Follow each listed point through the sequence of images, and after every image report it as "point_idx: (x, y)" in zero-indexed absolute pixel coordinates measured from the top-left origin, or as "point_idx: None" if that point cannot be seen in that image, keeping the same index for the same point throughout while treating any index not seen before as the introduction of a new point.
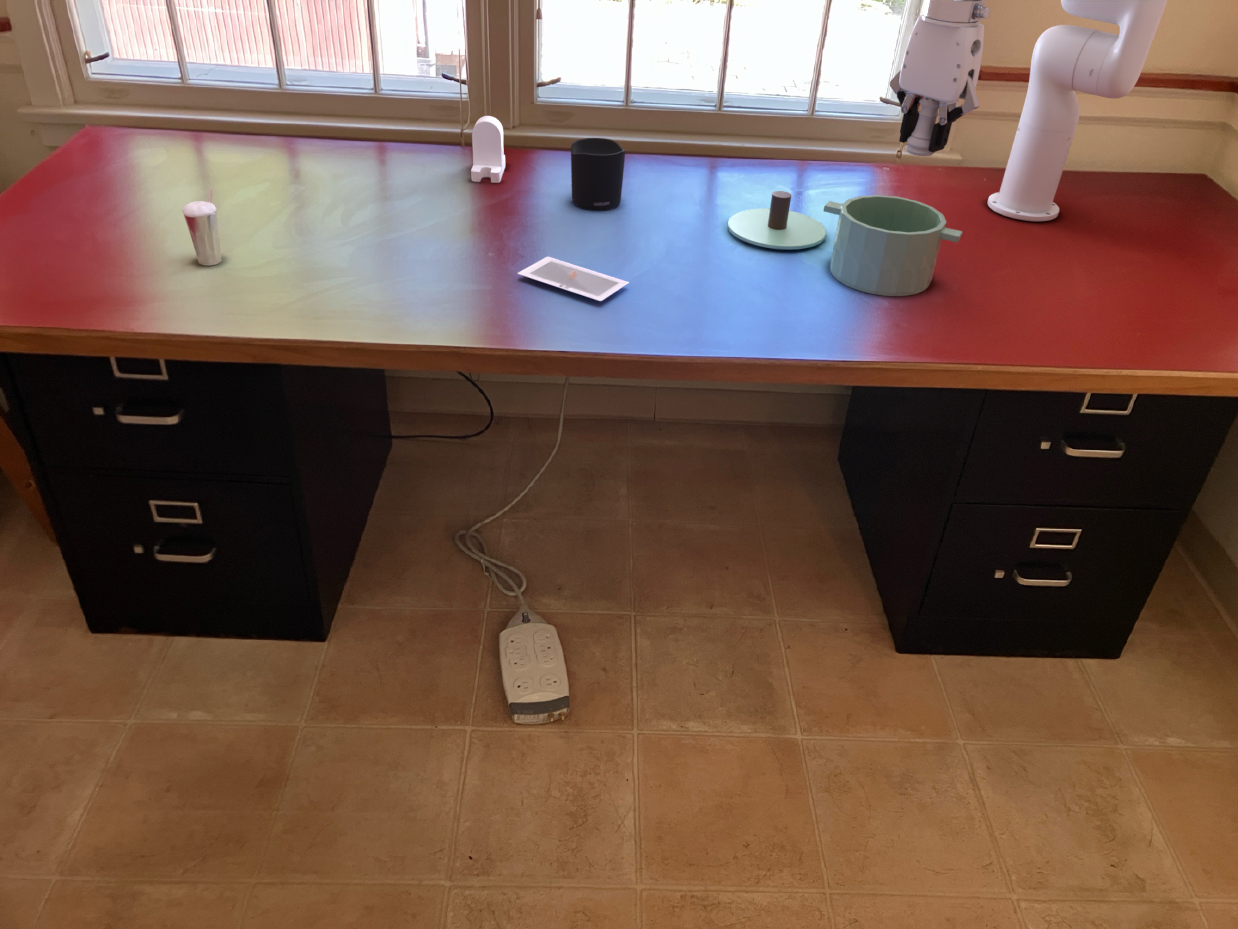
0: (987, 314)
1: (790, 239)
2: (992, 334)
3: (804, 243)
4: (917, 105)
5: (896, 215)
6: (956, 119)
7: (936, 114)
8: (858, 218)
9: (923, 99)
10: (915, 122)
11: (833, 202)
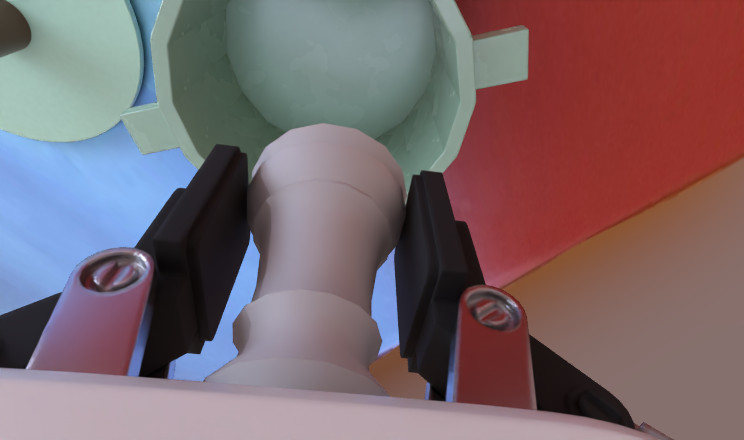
0: (593, 61)
1: (96, 73)
2: (611, 135)
3: (132, 69)
4: (151, 313)
5: None
6: (531, 341)
7: (373, 353)
8: (194, 33)
9: None
10: (221, 242)
11: (135, 118)
